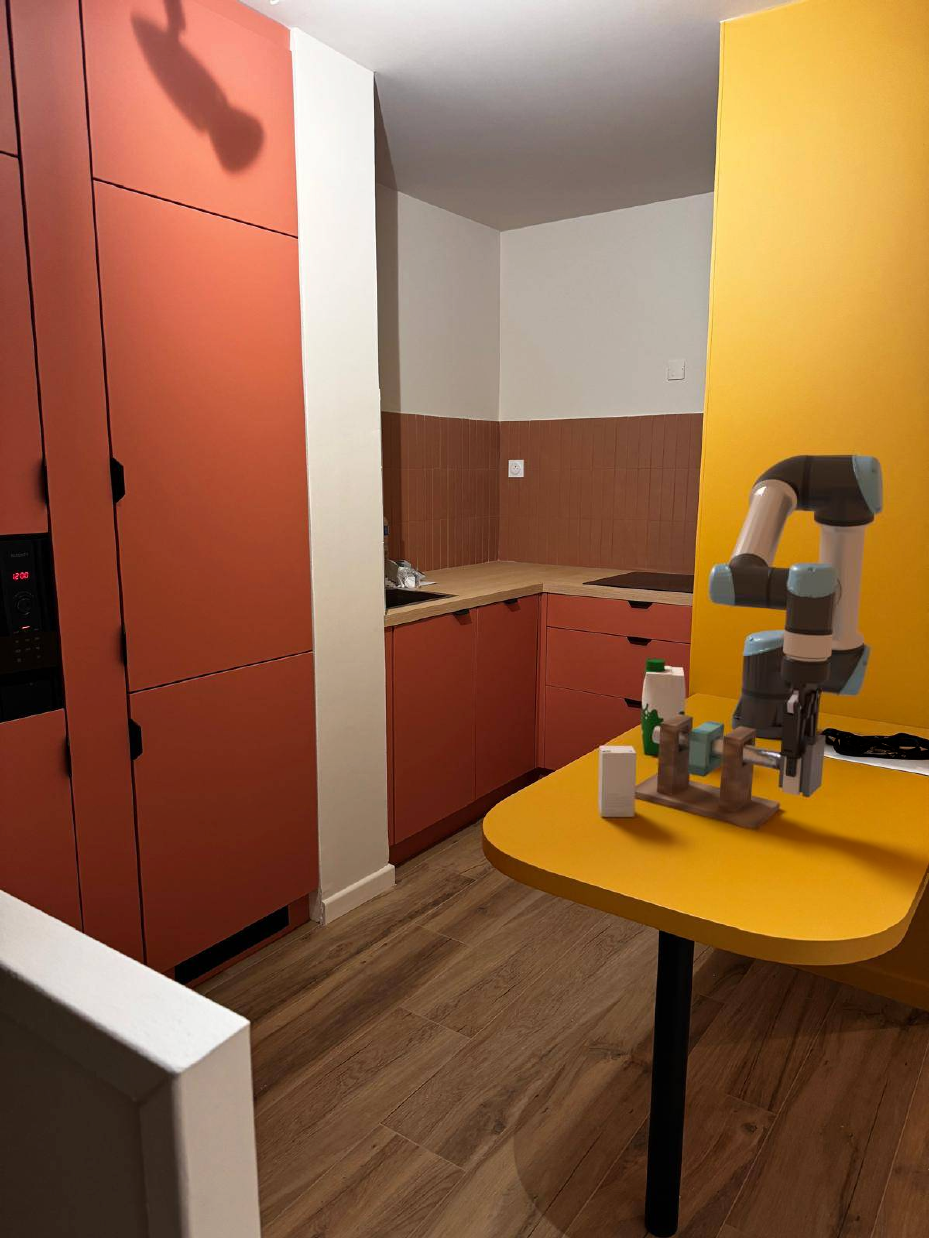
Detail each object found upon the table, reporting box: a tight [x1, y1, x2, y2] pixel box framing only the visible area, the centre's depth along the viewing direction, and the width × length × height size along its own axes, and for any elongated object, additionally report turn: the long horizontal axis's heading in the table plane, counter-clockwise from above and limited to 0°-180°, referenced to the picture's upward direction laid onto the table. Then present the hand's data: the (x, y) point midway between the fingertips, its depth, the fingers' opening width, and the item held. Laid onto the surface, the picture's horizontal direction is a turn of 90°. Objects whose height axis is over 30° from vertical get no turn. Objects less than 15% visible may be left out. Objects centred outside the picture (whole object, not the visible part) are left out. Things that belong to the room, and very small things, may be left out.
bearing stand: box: [635, 714, 781, 831], centre depth 159 cm, size 24×12×15 cm, turn 52°
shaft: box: [652, 726, 826, 798], centre depth 155 cm, size 30×7×9 cm, turn 52°
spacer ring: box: [688, 720, 725, 778], centre depth 158 cm, size 3×8×8 cm, turn 142°
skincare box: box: [597, 745, 637, 818], centre depth 154 cm, size 6×4×12 cm
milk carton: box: [640, 657, 687, 756], centre depth 187 cm, size 9×9×20 cm
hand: (795, 788), depth 149 cm, fingers closed on shaft, 4 cm apart
